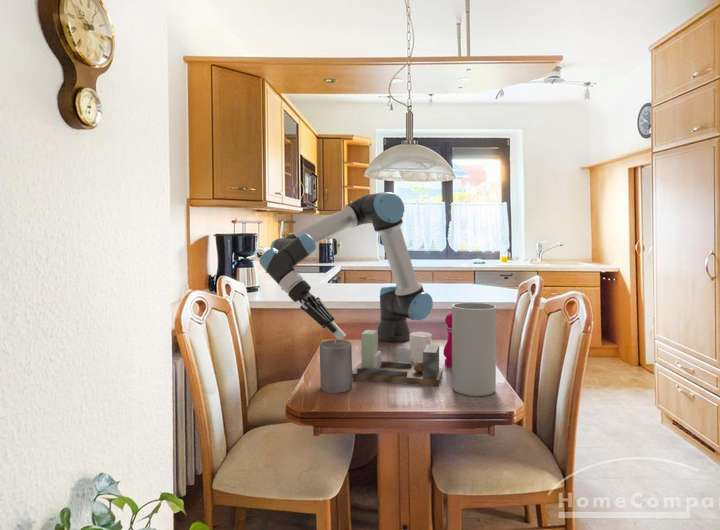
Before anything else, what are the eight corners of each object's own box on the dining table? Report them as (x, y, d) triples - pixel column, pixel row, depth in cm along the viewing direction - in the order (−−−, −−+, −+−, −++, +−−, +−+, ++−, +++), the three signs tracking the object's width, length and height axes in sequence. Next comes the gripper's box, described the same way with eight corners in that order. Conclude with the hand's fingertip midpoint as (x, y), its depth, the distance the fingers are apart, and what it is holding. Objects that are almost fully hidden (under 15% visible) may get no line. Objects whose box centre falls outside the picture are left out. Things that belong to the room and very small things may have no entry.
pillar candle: (328, 381, 145) (327, 334, 144) (357, 384, 141) (356, 336, 140) (314, 391, 136) (313, 342, 135) (345, 395, 132) (343, 344, 131)
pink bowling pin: (464, 368, 156) (464, 310, 155) (443, 367, 157) (443, 310, 156) (464, 362, 163) (464, 307, 162) (443, 361, 165) (443, 306, 163)
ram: (361, 370, 148) (360, 334, 147) (366, 364, 154) (366, 329, 153) (376, 371, 146) (376, 334, 145) (381, 365, 153) (380, 330, 152)
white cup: (435, 360, 167) (435, 333, 166) (425, 365, 160) (425, 337, 159) (415, 357, 171) (415, 330, 170) (405, 362, 165) (405, 334, 164)
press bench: (350, 379, 146) (349, 348, 145) (360, 368, 158) (359, 340, 157) (439, 386, 139) (439, 353, 138) (442, 374, 150) (442, 344, 150)
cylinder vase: (468, 380, 144) (468, 301, 142) (503, 389, 135) (504, 305, 133) (443, 389, 136) (443, 306, 134) (479, 400, 127) (480, 311, 125)
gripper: (296, 292, 162) (341, 341, 159) (280, 296, 149) (328, 350, 146) (309, 277, 160) (356, 327, 157) (294, 281, 148) (344, 335, 144)
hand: (342, 338), depth 152 cm, fingers closed
